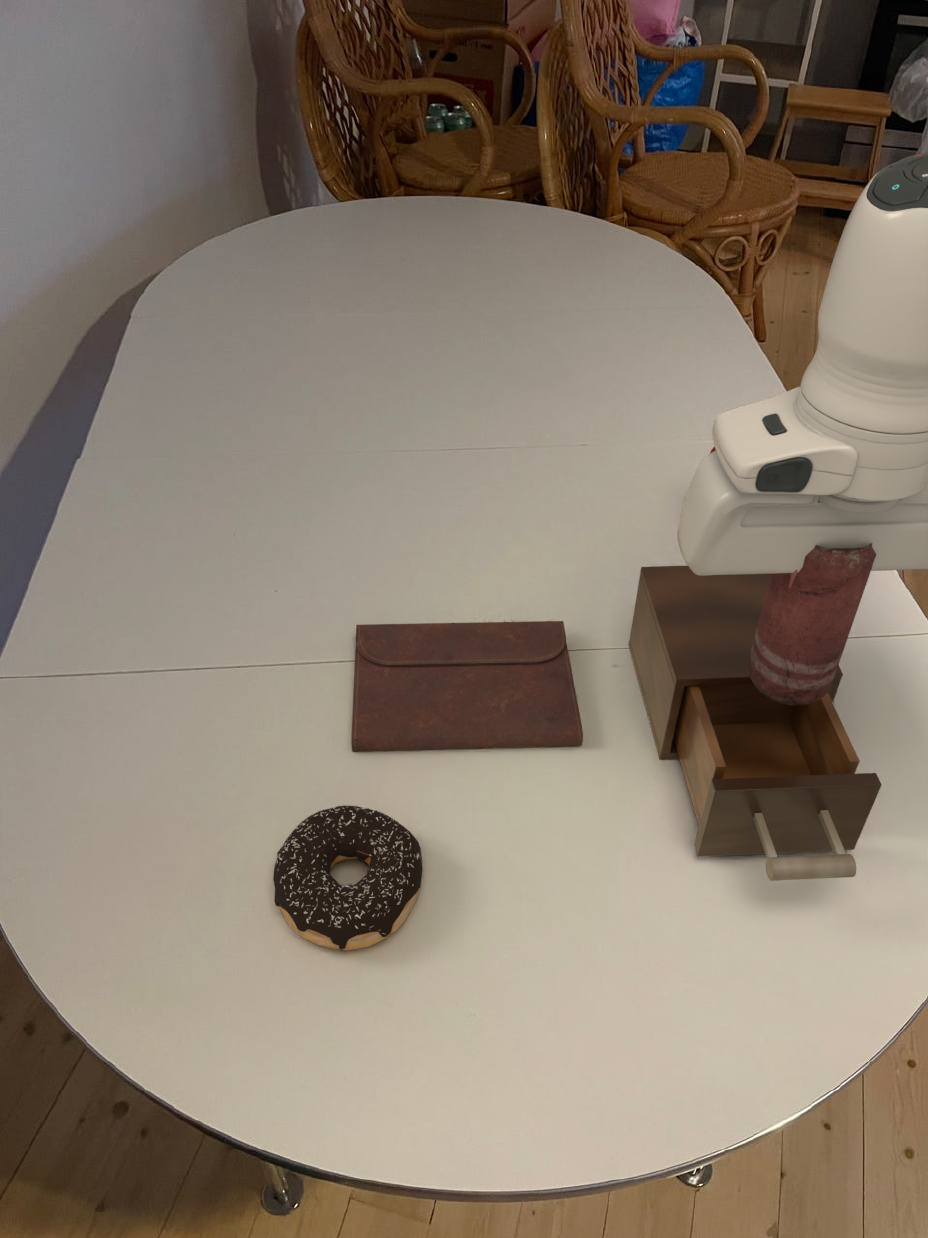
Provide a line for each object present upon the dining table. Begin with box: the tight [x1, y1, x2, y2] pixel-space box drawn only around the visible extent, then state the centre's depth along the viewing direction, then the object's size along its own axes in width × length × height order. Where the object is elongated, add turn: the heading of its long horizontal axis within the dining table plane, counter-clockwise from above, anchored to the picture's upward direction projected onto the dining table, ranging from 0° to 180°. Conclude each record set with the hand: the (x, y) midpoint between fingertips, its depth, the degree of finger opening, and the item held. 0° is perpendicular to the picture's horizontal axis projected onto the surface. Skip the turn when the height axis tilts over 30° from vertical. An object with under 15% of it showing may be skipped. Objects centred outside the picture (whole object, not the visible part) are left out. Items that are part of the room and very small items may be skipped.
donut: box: [272, 804, 424, 951], centre depth 77 cm, size 11×12×4 cm
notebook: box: [351, 620, 584, 752], centre depth 94 cm, size 15×20×2 cm
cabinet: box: [627, 565, 844, 761], centre depth 92 cm, size 15×14×10 cm
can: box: [747, 543, 876, 705], centre depth 73 cm, size 6×6×14 cm
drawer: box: [673, 684, 882, 882], centre depth 81 cm, size 19×12×8 cm, turn 4°
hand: (810, 611), depth 73 cm, fingers closed, pressing on can
